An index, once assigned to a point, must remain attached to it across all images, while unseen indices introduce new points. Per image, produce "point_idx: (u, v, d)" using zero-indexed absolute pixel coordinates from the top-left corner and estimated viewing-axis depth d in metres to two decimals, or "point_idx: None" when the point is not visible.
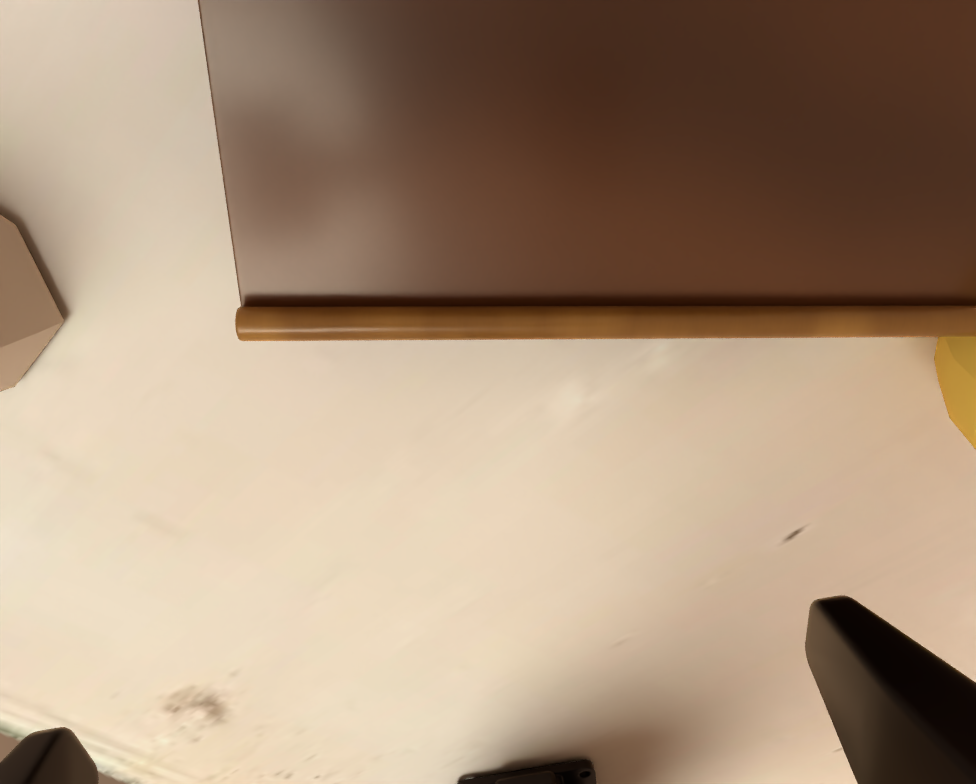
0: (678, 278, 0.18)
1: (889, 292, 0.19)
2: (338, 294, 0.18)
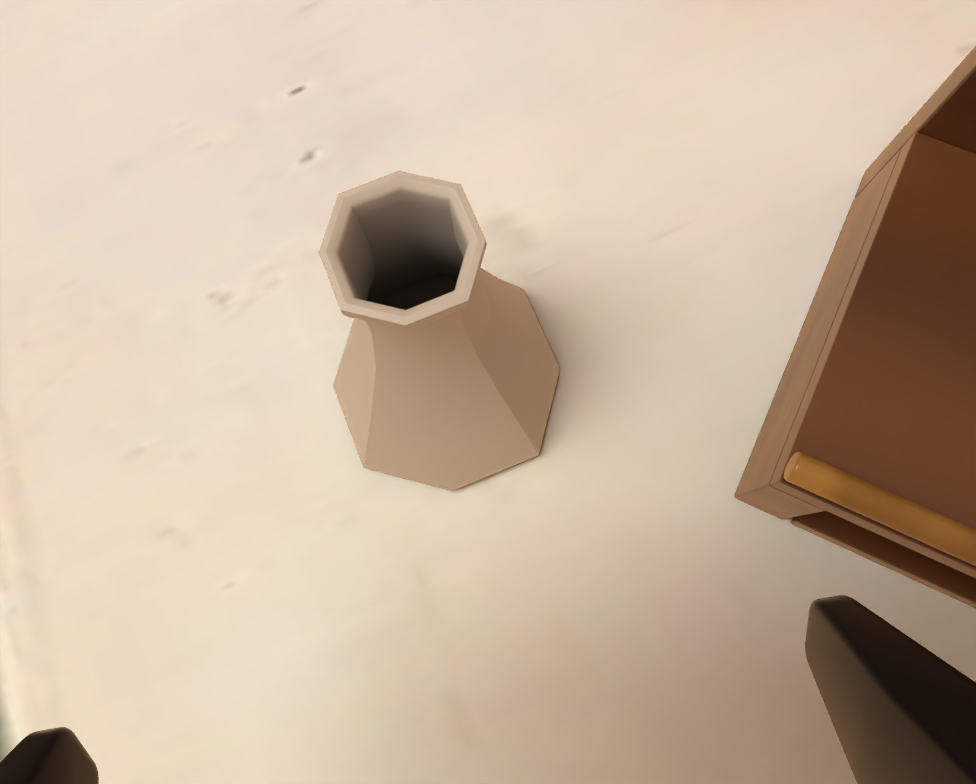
0: None
1: None
2: (880, 485, 0.19)
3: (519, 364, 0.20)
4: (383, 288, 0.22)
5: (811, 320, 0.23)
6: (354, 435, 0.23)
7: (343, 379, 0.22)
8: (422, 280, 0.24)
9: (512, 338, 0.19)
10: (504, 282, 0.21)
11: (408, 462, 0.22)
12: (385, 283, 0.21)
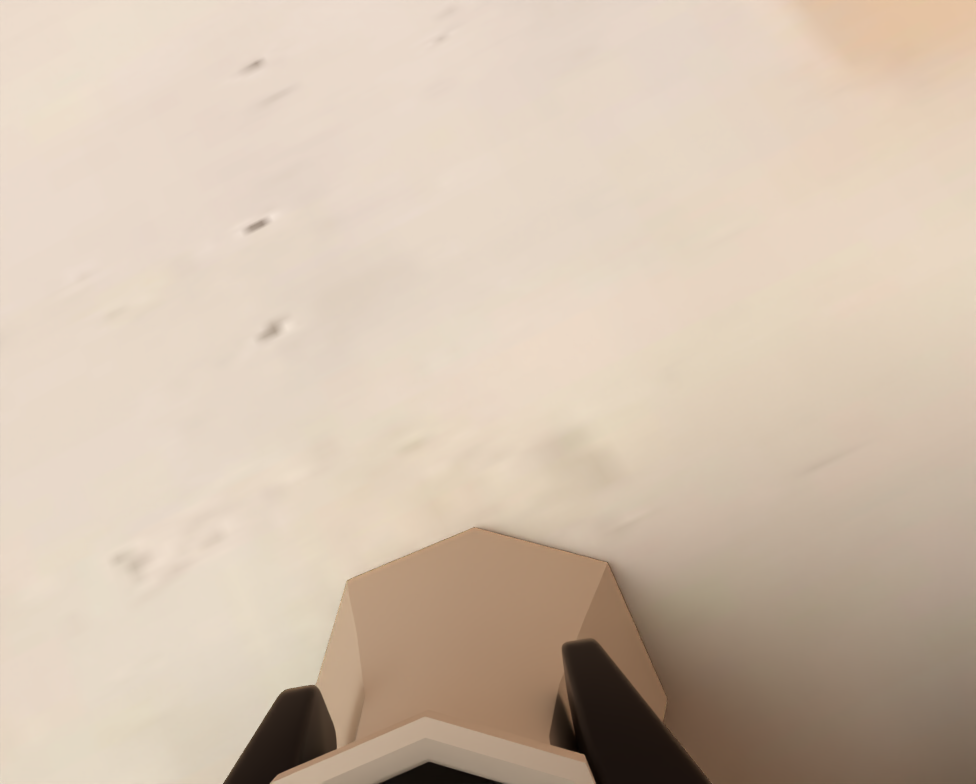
0: None
1: None
2: None
3: None
4: None
5: None
6: None
7: None
8: None
9: None
10: (591, 608, 0.13)
11: None
12: None
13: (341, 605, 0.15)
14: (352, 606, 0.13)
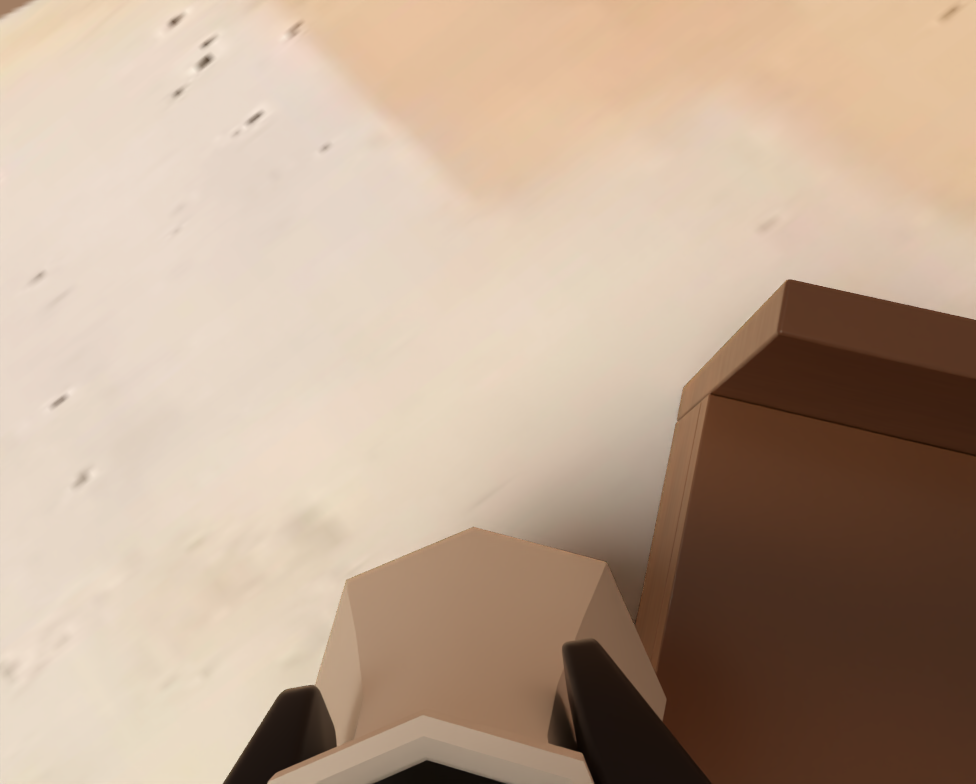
0: None
1: None
2: None
3: None
4: None
5: (648, 585, 0.21)
6: None
7: None
8: None
9: None
10: (589, 607, 0.13)
11: None
12: None
13: (340, 604, 0.15)
14: (351, 605, 0.13)
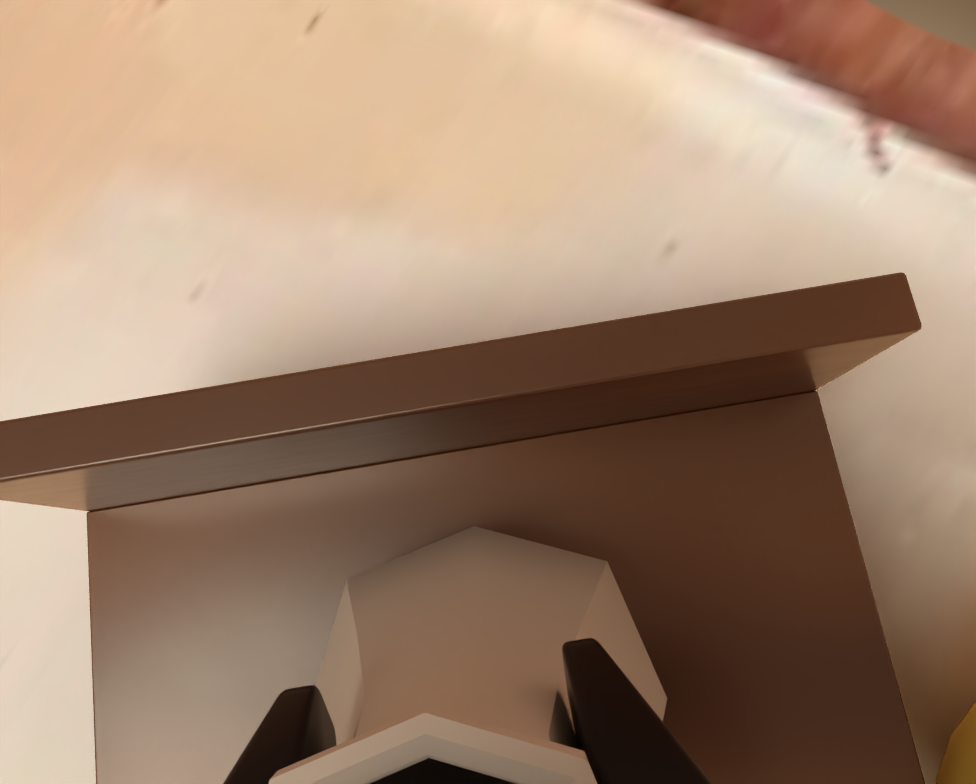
0: None
1: None
2: None
3: None
4: None
5: None
6: None
7: None
8: None
9: None
10: (590, 606, 0.13)
11: None
12: None
13: (341, 604, 0.15)
14: (352, 604, 0.13)
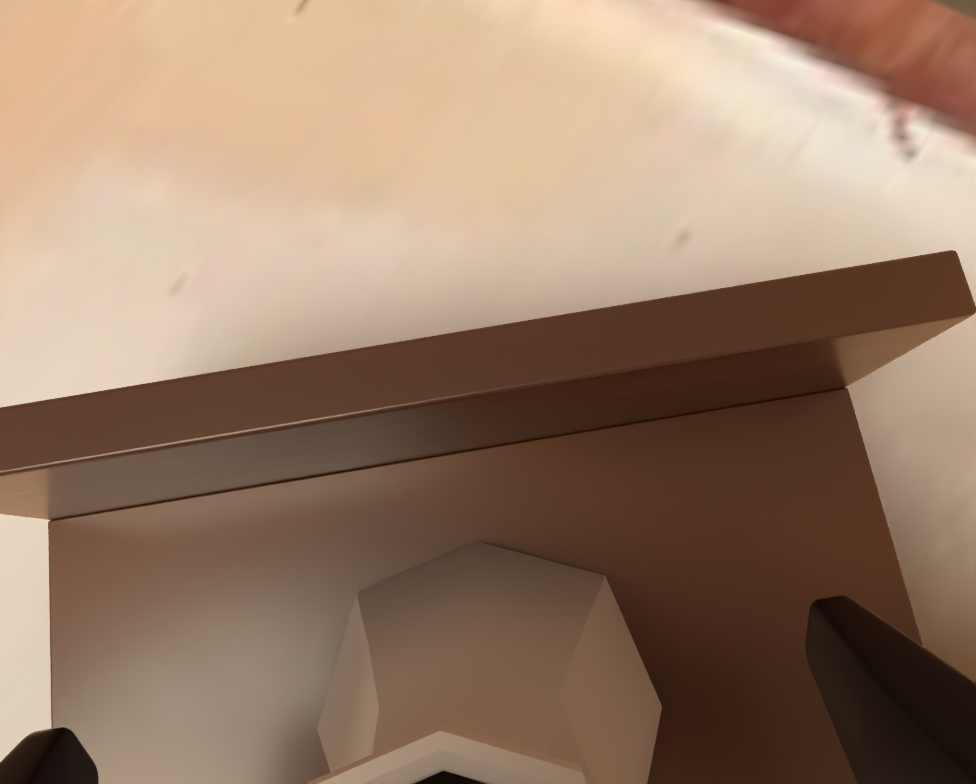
0: None
1: None
2: None
3: None
4: None
5: None
6: None
7: (330, 764, 0.14)
8: None
9: (617, 775, 0.11)
10: (589, 621, 0.13)
11: None
12: None
13: (351, 616, 0.16)
14: (363, 618, 0.14)
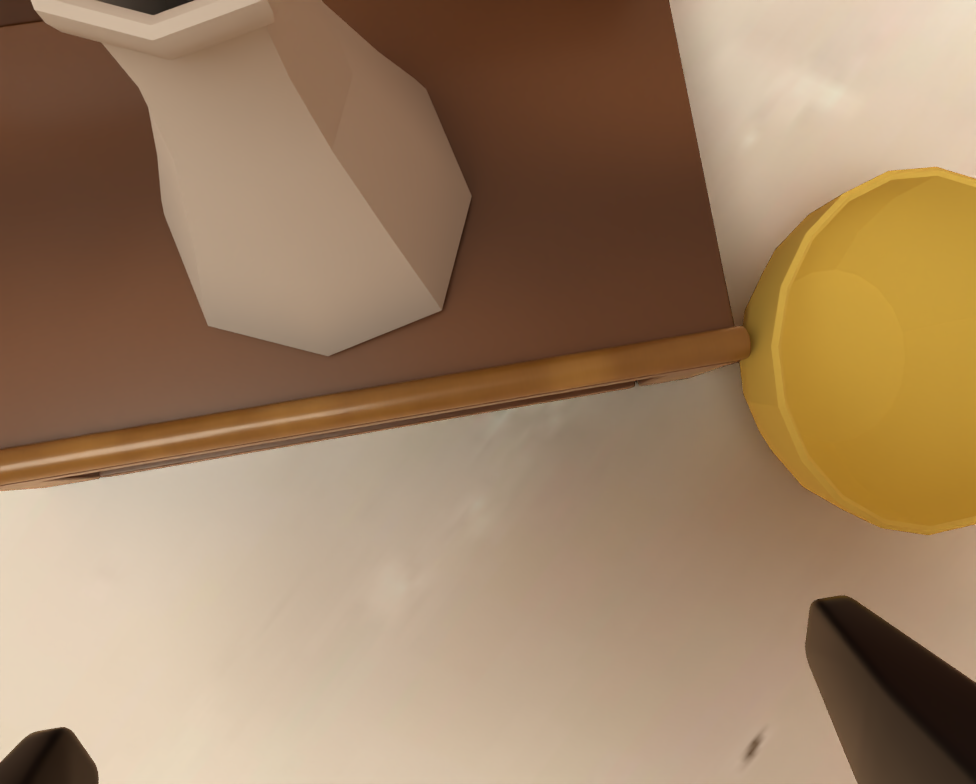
0: (395, 359, 0.18)
1: (629, 336, 0.18)
2: (43, 436, 0.17)
3: (406, 175, 0.14)
4: None
5: None
6: (192, 281, 0.17)
7: (165, 199, 0.16)
8: None
9: (393, 133, 0.13)
10: (389, 61, 0.15)
11: (262, 316, 0.16)
12: None
13: None
14: None
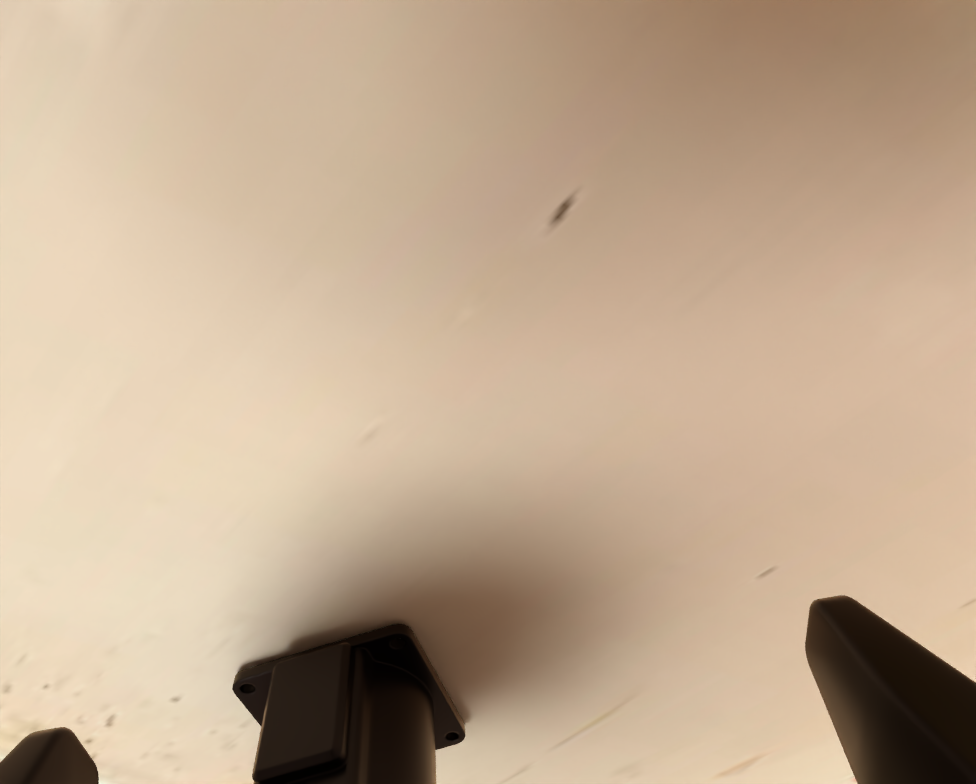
0: None
1: None
2: None
3: None
4: None
5: None
6: None
7: None
8: None
9: None
10: None
11: None
12: None
13: None
14: None
